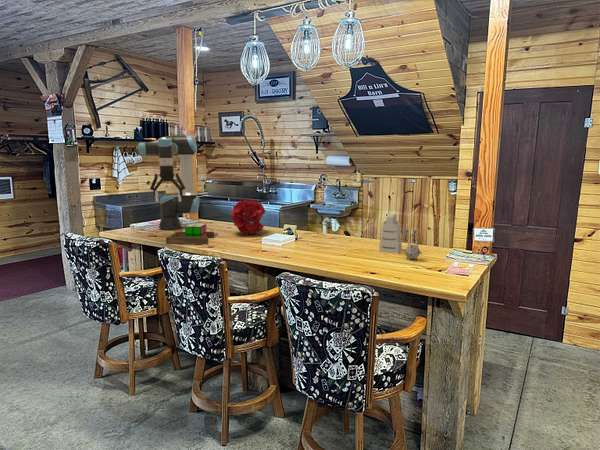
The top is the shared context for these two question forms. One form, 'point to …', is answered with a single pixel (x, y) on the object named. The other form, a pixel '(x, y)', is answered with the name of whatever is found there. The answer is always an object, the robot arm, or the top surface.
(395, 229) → the grater
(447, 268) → the top surface
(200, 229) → the puzzle cube
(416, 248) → the game die
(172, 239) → the brown wooden slab
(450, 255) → the top surface
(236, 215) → the bouquet
